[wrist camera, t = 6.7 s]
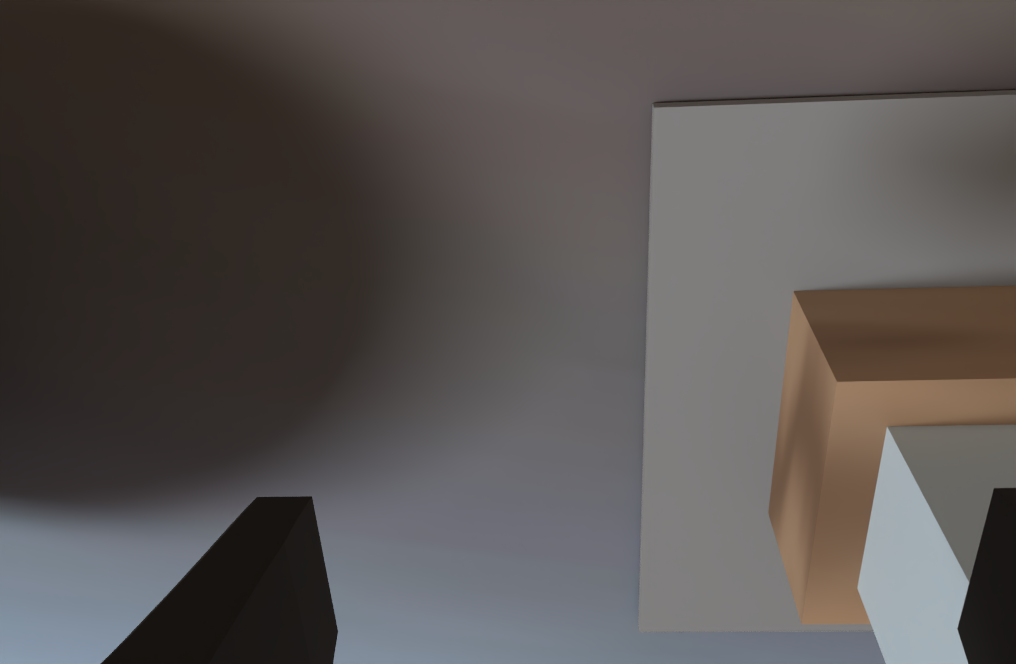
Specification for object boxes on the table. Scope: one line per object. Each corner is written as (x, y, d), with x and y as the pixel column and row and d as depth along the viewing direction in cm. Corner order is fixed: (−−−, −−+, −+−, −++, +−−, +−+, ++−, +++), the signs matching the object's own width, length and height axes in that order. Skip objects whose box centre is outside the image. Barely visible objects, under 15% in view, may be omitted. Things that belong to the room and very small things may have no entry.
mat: (1105, 621, 25) (1111, 630, 24) (638, 623, 25) (639, 632, 25) (1304, 79, 18) (1316, 84, 17) (652, 103, 18) (653, 108, 18)
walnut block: (1025, 510, 22) (1099, 622, 19) (768, 513, 23) (801, 624, 20) (1089, 283, 19) (1189, 375, 16) (793, 290, 20) (836, 381, 17)
